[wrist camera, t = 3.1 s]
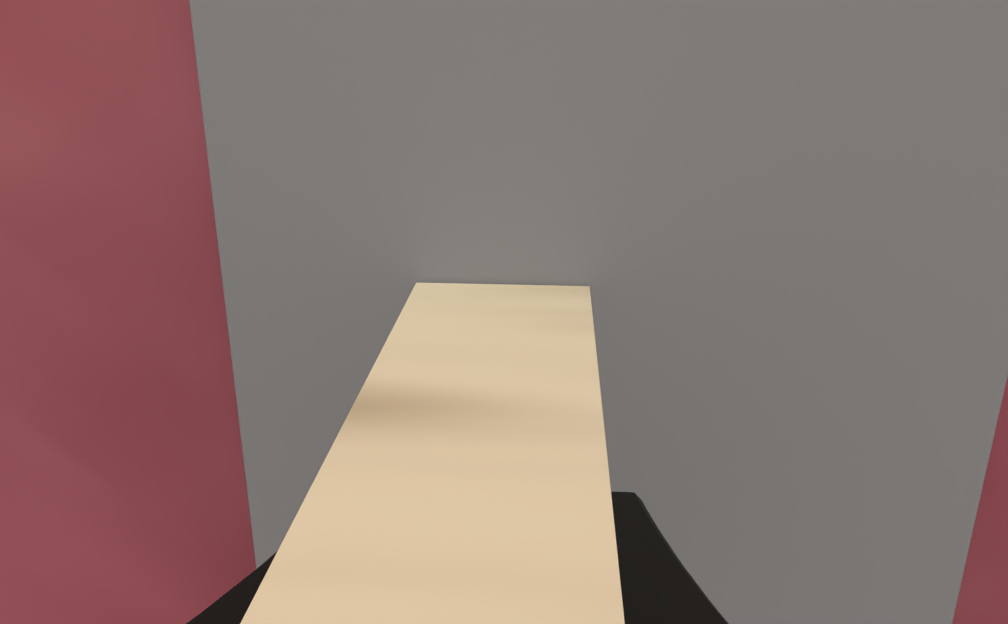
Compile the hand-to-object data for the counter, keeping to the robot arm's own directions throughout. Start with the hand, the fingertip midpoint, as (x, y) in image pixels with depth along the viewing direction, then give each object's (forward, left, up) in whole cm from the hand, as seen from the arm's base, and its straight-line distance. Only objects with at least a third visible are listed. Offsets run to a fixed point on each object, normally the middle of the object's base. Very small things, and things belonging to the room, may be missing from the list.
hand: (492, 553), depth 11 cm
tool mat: (0, -2, -2) cm, 3 cm away
